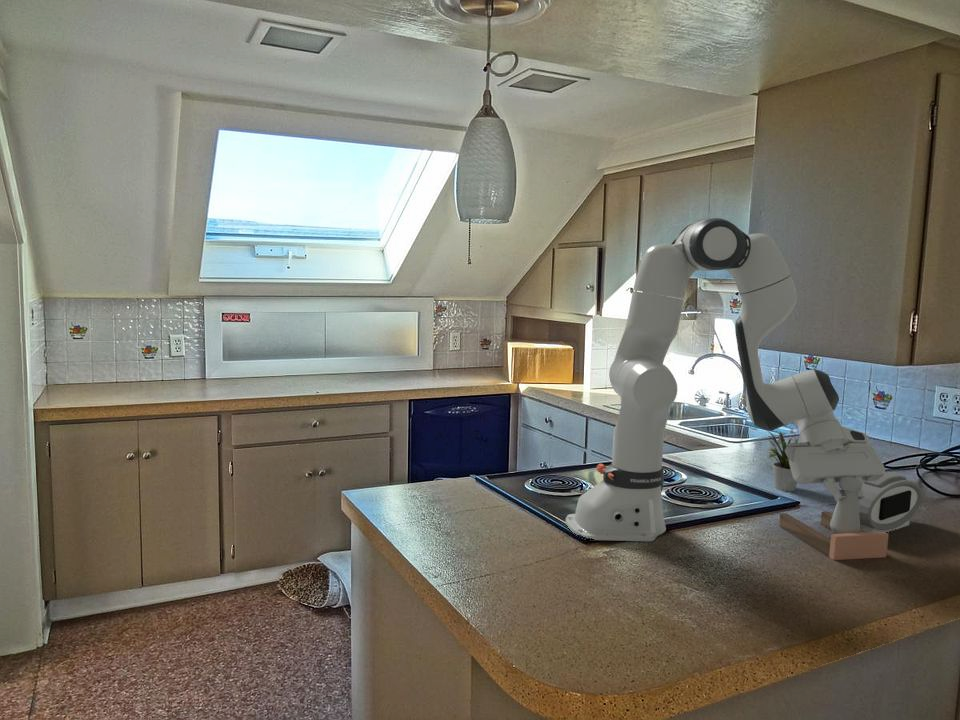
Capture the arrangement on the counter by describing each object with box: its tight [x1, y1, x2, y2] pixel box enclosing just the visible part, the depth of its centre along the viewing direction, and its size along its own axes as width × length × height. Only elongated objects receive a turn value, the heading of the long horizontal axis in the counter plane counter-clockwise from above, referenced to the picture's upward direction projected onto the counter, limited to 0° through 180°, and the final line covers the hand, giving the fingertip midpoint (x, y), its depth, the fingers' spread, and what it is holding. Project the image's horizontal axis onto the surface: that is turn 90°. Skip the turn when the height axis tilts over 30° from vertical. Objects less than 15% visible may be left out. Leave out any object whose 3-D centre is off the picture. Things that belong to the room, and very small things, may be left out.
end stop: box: [828, 531, 889, 561], centre depth 153 cm, size 12×2×5 cm, turn 100°
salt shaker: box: [830, 477, 862, 534], centre depth 156 cm, size 6×6×13 cm
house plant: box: [762, 429, 800, 492], centre depth 199 cm, size 14×14×16 cm
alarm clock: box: [859, 472, 923, 533], centre depth 170 cm, size 23×6×13 cm, turn 123°
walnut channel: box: [778, 511, 866, 558], centre depth 163 cm, size 12×18×3 cm
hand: (850, 499), depth 155 cm, fingers closed on salt shaker, 3 cm apart
